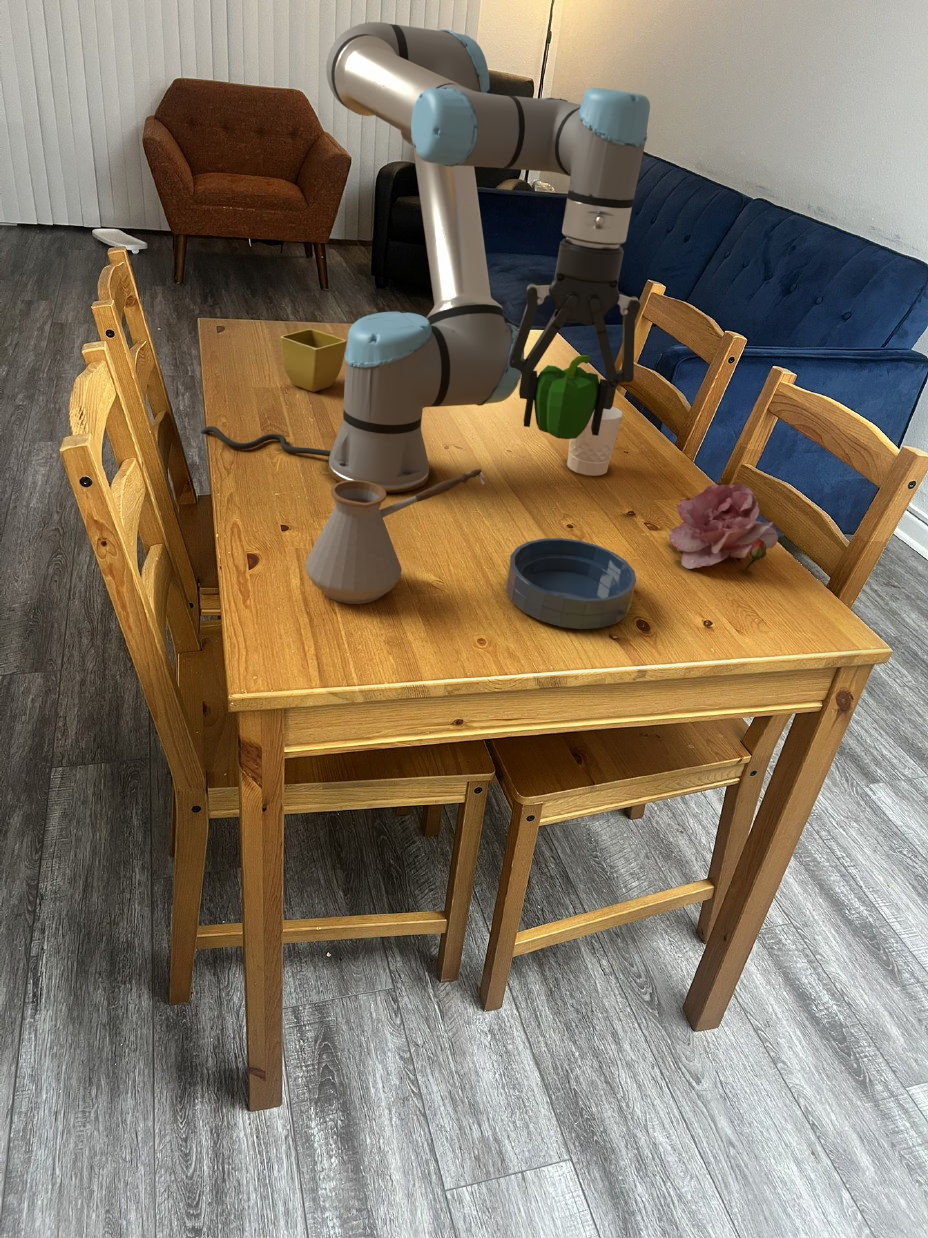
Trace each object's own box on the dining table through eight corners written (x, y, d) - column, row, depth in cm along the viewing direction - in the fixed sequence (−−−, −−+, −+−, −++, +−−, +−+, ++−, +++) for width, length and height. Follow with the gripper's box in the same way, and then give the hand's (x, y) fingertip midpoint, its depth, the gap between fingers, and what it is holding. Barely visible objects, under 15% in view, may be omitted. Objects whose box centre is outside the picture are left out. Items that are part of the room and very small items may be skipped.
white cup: (608, 481, 152) (621, 422, 147) (560, 472, 153) (571, 413, 148) (611, 463, 159) (624, 406, 154) (565, 455, 160) (576, 398, 154)
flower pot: (345, 387, 175) (348, 339, 171) (315, 398, 169) (317, 348, 164) (309, 375, 179) (310, 327, 174) (278, 385, 172) (278, 336, 168)
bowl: (504, 623, 112) (509, 591, 109) (506, 561, 125) (511, 531, 123) (634, 640, 112) (642, 608, 110) (622, 576, 125) (629, 546, 123)
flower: (698, 504, 141) (713, 452, 133) (785, 552, 135) (806, 501, 127) (641, 556, 134) (654, 505, 126) (731, 610, 127) (750, 559, 120)
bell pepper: (538, 444, 118) (551, 365, 112) (521, 420, 124) (532, 345, 119) (601, 445, 120) (616, 368, 114) (580, 422, 126) (594, 348, 121)
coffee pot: (316, 617, 108) (321, 498, 100) (295, 568, 117) (298, 455, 109) (487, 600, 116) (504, 489, 108) (455, 555, 125) (469, 449, 117)
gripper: (503, 235, 106) (478, 427, 118) (686, 259, 107) (644, 448, 118) (503, 224, 113) (480, 407, 124) (677, 247, 113) (637, 427, 125)
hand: (560, 427), depth 121 cm, fingers closed on bell pepper, 8 cm apart
